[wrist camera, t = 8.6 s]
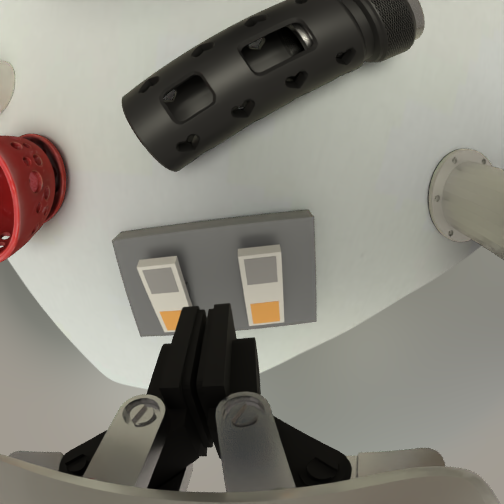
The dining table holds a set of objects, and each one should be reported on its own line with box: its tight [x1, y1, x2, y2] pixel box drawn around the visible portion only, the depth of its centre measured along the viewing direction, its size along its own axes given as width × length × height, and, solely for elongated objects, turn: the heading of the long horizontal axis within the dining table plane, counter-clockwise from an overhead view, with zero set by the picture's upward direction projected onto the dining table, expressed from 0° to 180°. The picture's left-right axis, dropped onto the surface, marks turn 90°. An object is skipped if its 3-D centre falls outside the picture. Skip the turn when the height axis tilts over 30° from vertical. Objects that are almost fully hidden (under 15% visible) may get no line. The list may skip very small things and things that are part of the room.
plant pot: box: [0, 134, 66, 262], centre depth 27 cm, size 13×13×12 cm
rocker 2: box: [238, 244, 284, 326], centre depth 33 cm, size 4×10×1 cm, turn 6°
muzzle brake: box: [122, 0, 425, 172], centre depth 24 cm, size 10×28×10 cm, turn 122°
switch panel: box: [112, 210, 316, 337], centre depth 36 cm, size 22×13×4 cm, turn 96°
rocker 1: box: [137, 256, 192, 332], centre depth 33 cm, size 4×10×1 cm, turn 6°
